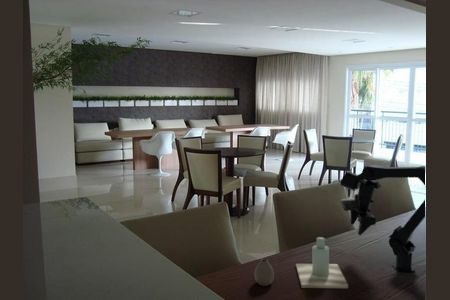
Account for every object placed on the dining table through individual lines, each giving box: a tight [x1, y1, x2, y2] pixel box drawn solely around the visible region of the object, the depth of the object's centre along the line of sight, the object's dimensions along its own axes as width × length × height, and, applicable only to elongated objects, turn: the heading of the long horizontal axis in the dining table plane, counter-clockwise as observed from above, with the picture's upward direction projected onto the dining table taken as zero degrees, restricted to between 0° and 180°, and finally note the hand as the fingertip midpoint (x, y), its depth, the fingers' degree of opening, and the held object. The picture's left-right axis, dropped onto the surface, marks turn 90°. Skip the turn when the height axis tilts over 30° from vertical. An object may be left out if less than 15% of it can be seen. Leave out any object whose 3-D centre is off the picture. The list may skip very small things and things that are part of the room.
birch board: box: [295, 263, 349, 289], centre depth 149 cm, size 18×16×1 cm
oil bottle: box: [311, 236, 330, 277], centre depth 148 cm, size 6×6×14 cm
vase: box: [254, 258, 275, 287], centre depth 144 cm, size 7×7×9 cm
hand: (355, 229), depth 166 cm, fingers open, 9 cm apart
